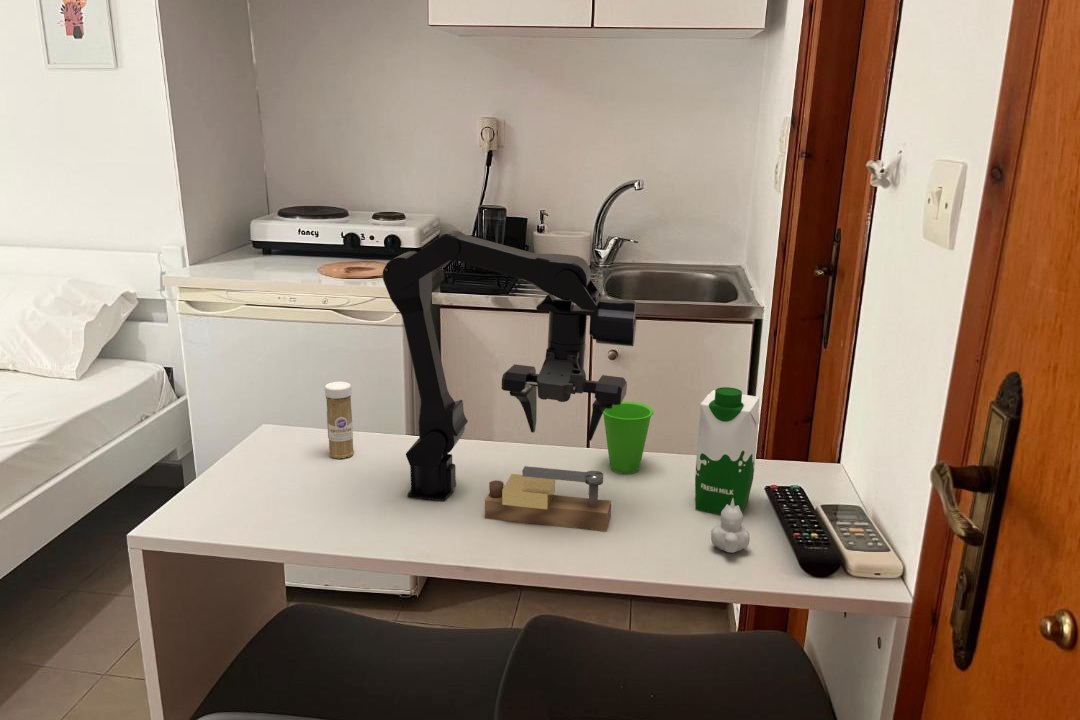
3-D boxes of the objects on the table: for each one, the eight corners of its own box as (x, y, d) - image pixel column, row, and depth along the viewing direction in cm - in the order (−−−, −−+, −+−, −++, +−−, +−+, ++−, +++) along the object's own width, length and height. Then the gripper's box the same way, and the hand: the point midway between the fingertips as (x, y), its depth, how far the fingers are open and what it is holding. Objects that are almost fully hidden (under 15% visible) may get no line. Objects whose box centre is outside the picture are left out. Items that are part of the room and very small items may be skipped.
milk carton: (688, 511, 135) (696, 391, 129) (702, 489, 143) (710, 375, 137) (743, 522, 131) (754, 400, 125) (755, 499, 139) (766, 383, 133)
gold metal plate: (502, 504, 129) (502, 489, 128) (511, 488, 135) (511, 473, 134) (547, 509, 128) (547, 494, 127) (554, 492, 133) (555, 478, 133)
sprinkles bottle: (334, 461, 152) (330, 390, 148) (325, 453, 155) (320, 383, 151) (358, 456, 154) (355, 385, 150) (348, 448, 158) (344, 379, 154)
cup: (648, 481, 145) (651, 420, 142) (595, 476, 147) (597, 416, 144) (652, 460, 154) (655, 403, 151) (602, 456, 156) (604, 399, 152)
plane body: (484, 518, 131) (484, 478, 130) (492, 505, 136) (491, 467, 134) (606, 531, 128) (608, 491, 126) (610, 518, 132) (612, 479, 130)
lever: (521, 478, 129) (521, 471, 129) (525, 471, 132) (525, 464, 131) (601, 486, 127) (602, 479, 126) (604, 478, 129) (604, 471, 129)
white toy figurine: (746, 542, 125) (751, 492, 123) (749, 564, 119) (754, 512, 117) (709, 538, 126) (713, 489, 124) (710, 560, 120) (714, 509, 118)
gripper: (491, 346, 124) (488, 445, 128) (617, 361, 119) (610, 463, 124) (513, 328, 134) (510, 421, 139) (630, 341, 130) (623, 437, 134)
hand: (561, 435), depth 134 cm, fingers open, 9 cm apart
